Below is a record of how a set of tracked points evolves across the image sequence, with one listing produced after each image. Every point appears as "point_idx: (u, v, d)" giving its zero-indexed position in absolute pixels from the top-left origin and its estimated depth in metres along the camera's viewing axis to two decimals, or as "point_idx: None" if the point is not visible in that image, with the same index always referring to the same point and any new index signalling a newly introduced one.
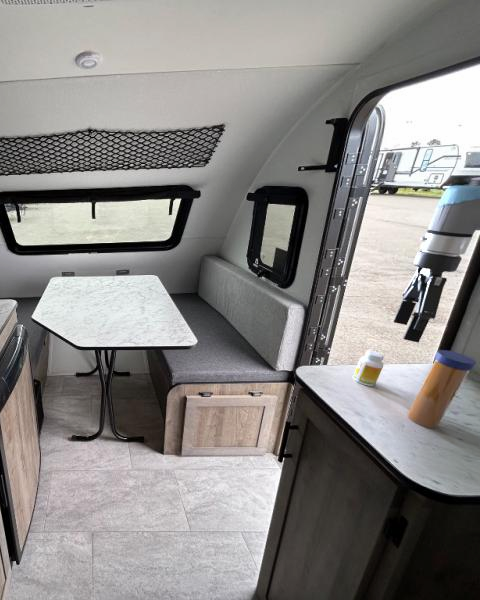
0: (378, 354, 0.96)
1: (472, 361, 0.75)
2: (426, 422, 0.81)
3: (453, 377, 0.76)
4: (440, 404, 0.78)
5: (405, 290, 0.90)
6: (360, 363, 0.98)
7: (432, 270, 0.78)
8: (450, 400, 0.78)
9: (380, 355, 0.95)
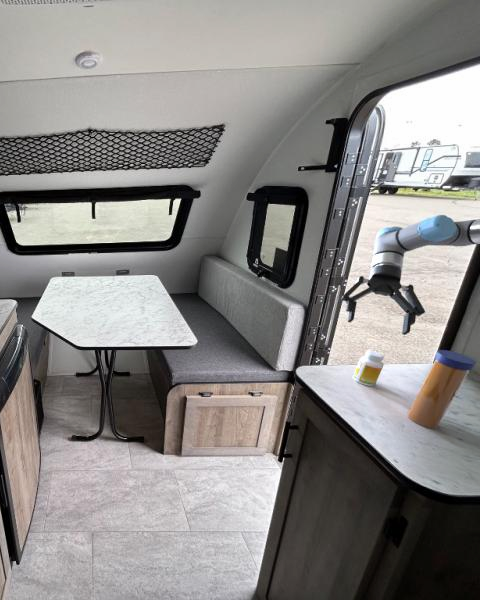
0: (378, 354, 0.96)
1: (472, 361, 0.75)
2: (426, 422, 0.81)
3: (453, 377, 0.76)
4: (440, 404, 0.78)
5: (415, 310, 1.01)
6: (360, 363, 0.98)
7: None
8: (450, 400, 0.78)
9: (380, 355, 0.95)
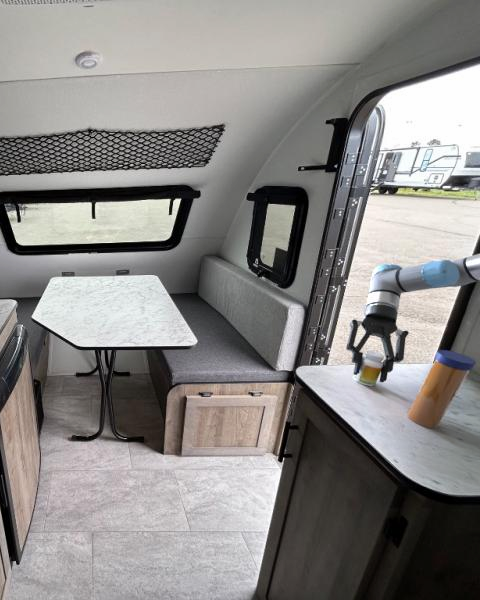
0: (379, 354, 0.96)
1: (472, 361, 0.75)
2: (426, 422, 0.81)
3: (453, 377, 0.76)
4: (440, 404, 0.78)
5: (397, 356, 0.96)
6: None
7: None
8: (450, 400, 0.78)
9: (380, 355, 0.95)
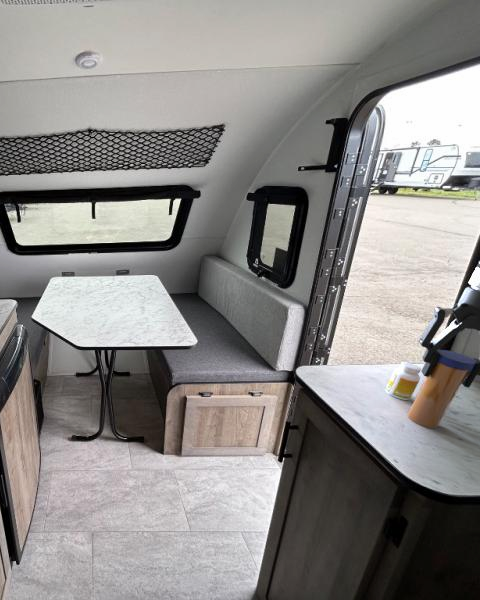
0: (415, 366, 0.90)
1: (472, 361, 0.75)
2: (426, 422, 0.81)
3: (453, 377, 0.76)
4: (440, 404, 0.78)
5: None
6: (394, 376, 0.92)
7: None
8: (450, 400, 0.78)
9: (417, 367, 0.89)
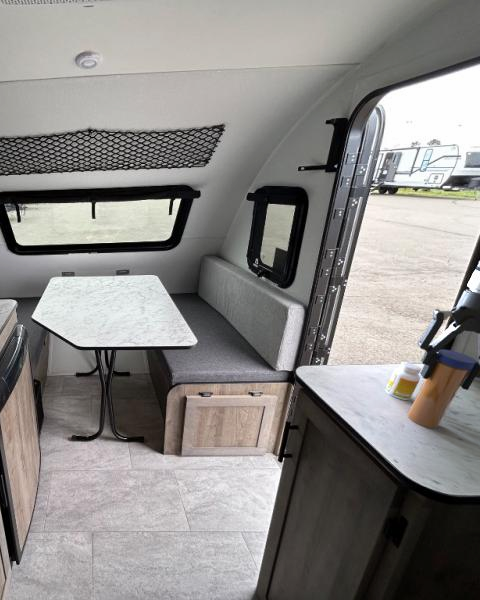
0: (415, 366, 0.90)
1: (448, 350, 0.79)
2: (426, 422, 0.81)
3: (453, 377, 0.76)
4: (440, 404, 0.78)
5: None
6: (394, 376, 0.92)
7: None
8: (450, 400, 0.78)
9: (417, 367, 0.89)
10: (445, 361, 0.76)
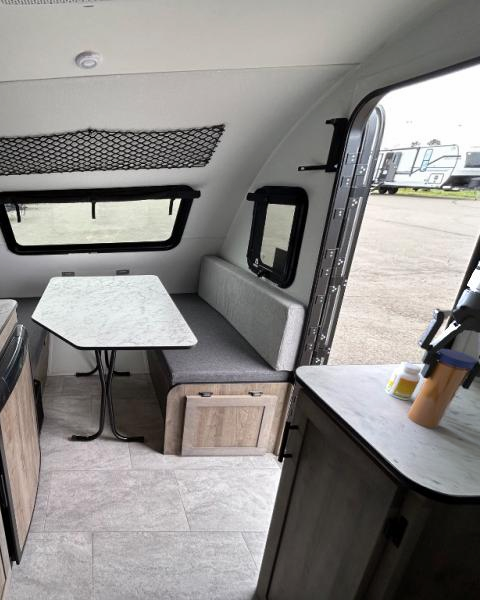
0: (415, 366, 0.90)
1: (451, 356, 0.75)
2: (426, 422, 0.81)
3: (453, 377, 0.76)
4: (440, 404, 0.78)
5: None
6: (394, 376, 0.92)
7: None
8: (450, 400, 0.78)
9: (417, 367, 0.89)
10: None
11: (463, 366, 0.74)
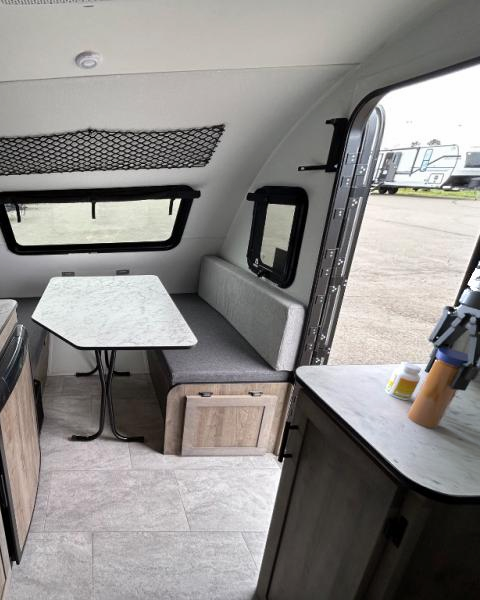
0: (415, 366, 0.90)
1: None
2: (426, 422, 0.81)
3: (453, 377, 0.76)
4: (440, 404, 0.78)
5: (433, 335, 0.81)
6: (394, 376, 0.92)
7: None
8: (450, 400, 0.78)
9: (417, 367, 0.89)
10: None
11: None
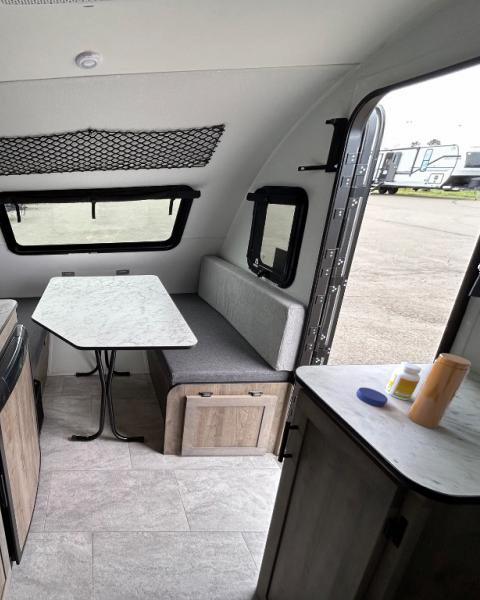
0: (415, 366, 0.90)
1: (362, 388, 0.92)
2: (426, 422, 0.81)
3: (453, 377, 0.76)
4: (440, 404, 0.78)
5: None
6: (394, 376, 0.92)
7: None
8: (450, 400, 0.78)
9: (417, 367, 0.89)
10: (371, 403, 0.88)
11: (357, 395, 0.91)
